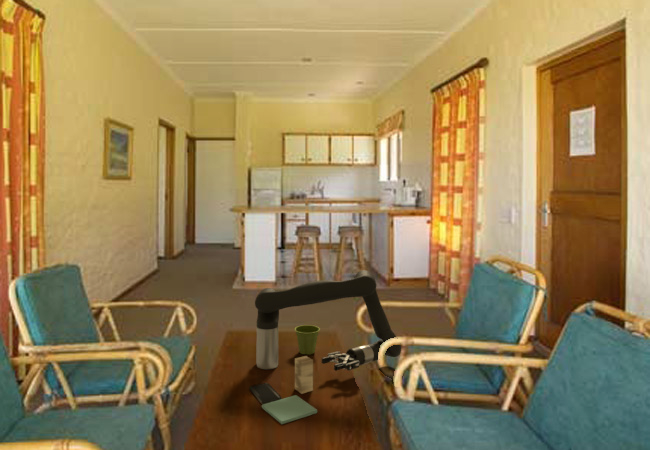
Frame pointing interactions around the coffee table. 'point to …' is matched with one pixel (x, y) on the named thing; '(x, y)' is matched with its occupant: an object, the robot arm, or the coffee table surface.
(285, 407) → the green square tile
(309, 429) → the coffee table surface
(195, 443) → the coffee table surface
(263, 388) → the phone
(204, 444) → the coffee table surface
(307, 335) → the plant pot
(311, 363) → the birch block
